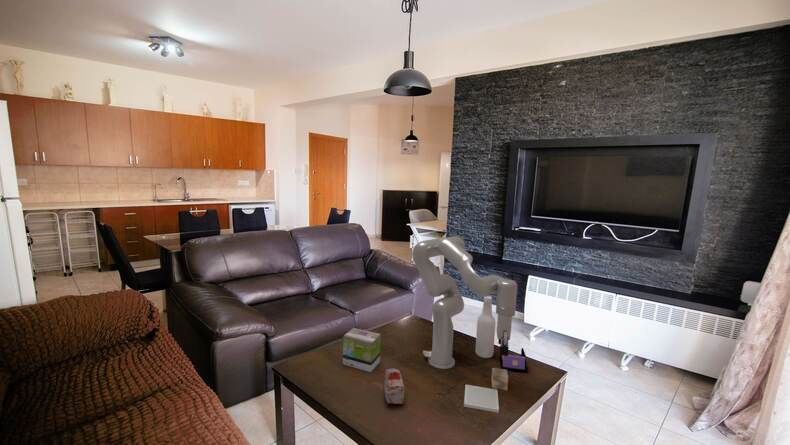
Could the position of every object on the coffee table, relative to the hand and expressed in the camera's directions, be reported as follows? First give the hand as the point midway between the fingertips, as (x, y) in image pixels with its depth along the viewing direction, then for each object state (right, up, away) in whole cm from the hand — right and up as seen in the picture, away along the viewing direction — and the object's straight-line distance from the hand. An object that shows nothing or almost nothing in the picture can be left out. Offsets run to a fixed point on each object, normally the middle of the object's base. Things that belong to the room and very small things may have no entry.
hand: (502, 349), depth 143 cm
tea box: (-60, -14, +19) cm, 65 cm away
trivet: (-10, -18, -5) cm, 21 cm away
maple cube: (0, -12, +5) cm, 12 cm away
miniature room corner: (+12, -16, +23) cm, 31 cm away
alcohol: (0, -14, +32) cm, 35 cm away
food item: (-46, -17, -4) cm, 49 cm away
